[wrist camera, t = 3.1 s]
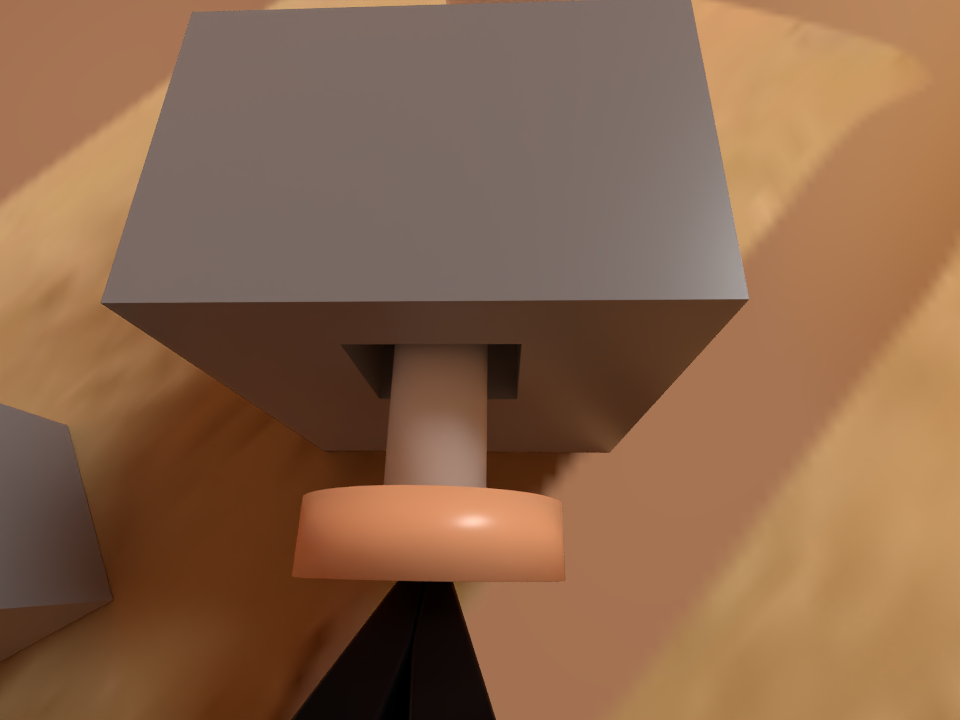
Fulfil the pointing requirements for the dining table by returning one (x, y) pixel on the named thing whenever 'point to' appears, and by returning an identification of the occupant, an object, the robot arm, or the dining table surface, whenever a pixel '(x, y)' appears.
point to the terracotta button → (432, 492)
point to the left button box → (43, 533)
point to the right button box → (437, 212)
